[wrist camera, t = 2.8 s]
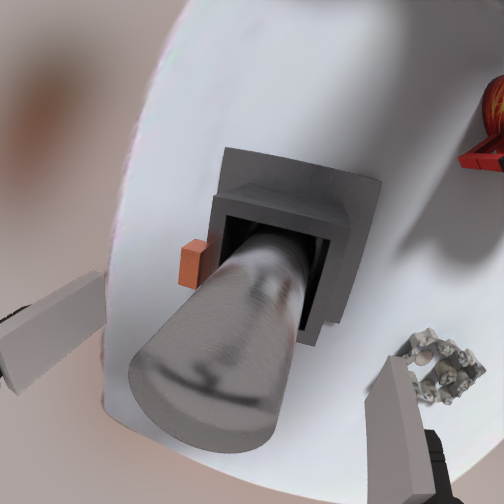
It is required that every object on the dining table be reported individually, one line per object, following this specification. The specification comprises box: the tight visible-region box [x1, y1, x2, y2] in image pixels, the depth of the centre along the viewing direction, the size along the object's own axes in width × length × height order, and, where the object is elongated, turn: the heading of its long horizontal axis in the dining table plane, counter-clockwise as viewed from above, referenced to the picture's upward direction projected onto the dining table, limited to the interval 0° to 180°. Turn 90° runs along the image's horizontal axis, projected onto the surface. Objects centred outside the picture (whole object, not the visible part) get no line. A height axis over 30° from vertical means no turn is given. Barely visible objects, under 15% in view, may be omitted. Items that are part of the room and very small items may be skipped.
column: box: [128, 222, 316, 453], centre depth 18 cm, size 6×6×20 cm
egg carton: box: [395, 328, 486, 405], centre depth 27 cm, size 11×8×4 cm
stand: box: [178, 147, 382, 347], centre depth 23 cm, size 14×14×12 cm
